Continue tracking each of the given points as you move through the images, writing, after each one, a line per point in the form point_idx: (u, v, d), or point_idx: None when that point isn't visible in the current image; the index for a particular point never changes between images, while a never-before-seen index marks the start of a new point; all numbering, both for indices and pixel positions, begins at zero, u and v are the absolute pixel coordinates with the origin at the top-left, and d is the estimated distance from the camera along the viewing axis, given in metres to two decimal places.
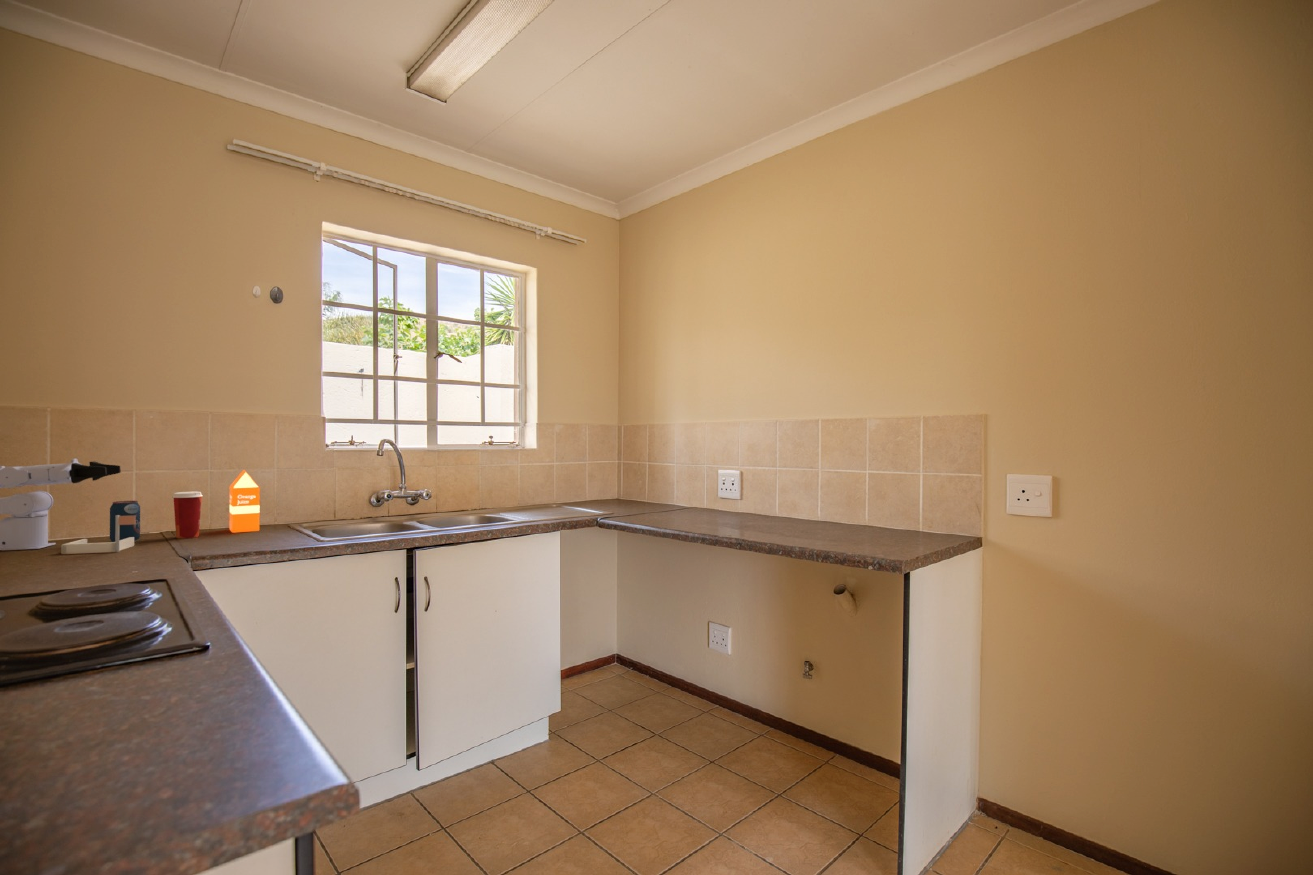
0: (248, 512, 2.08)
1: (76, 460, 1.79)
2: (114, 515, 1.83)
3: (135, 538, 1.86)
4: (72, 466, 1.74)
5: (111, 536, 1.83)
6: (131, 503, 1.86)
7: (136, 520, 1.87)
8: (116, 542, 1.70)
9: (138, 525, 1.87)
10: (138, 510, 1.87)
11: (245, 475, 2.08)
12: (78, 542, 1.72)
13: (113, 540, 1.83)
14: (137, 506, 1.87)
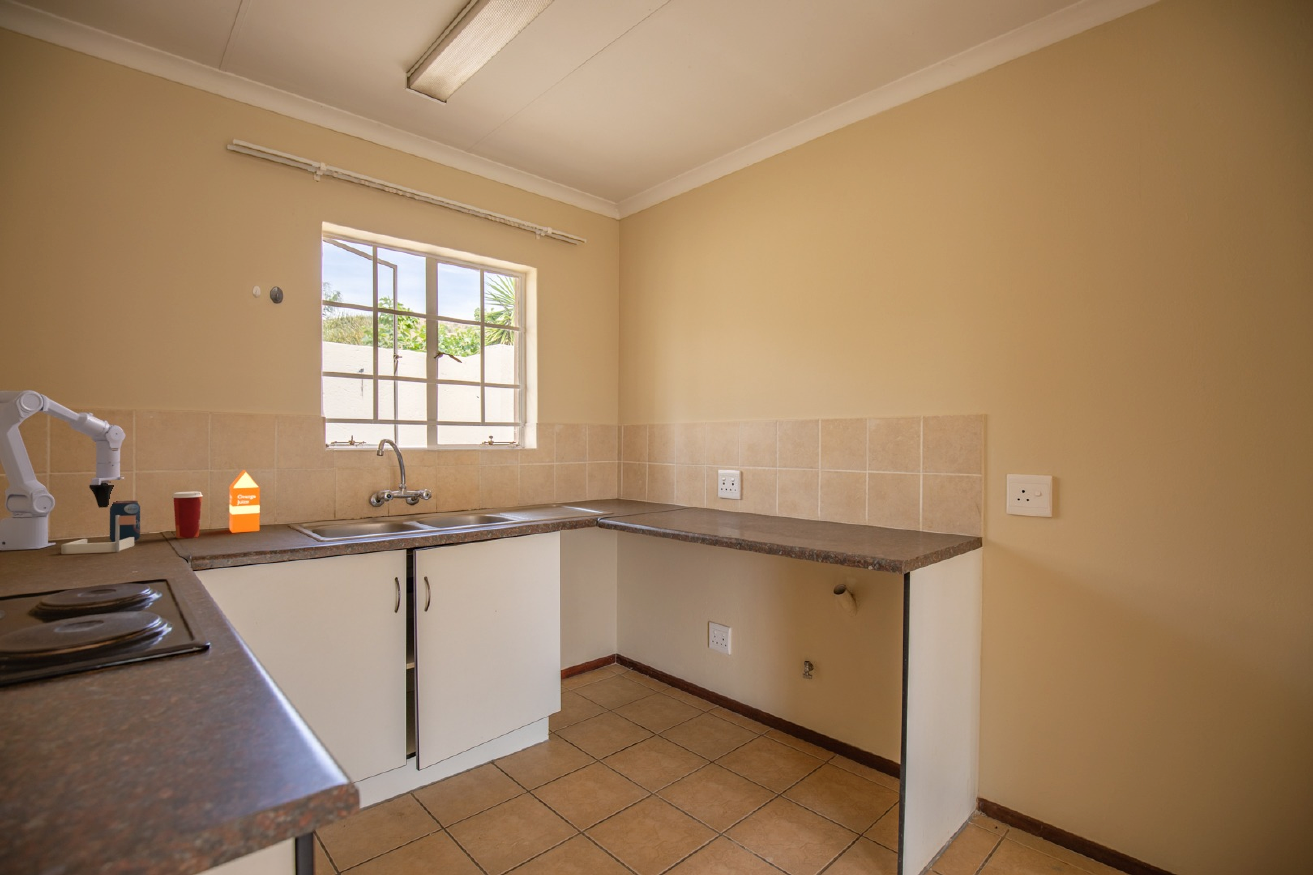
0: (248, 512, 2.08)
1: (121, 478, 1.97)
2: (114, 515, 1.83)
3: (135, 538, 1.86)
4: (106, 486, 1.92)
5: (111, 536, 1.83)
6: (131, 503, 1.86)
7: (136, 520, 1.87)
8: (116, 542, 1.70)
9: (138, 525, 1.87)
10: (138, 510, 1.87)
11: (245, 475, 2.08)
12: (78, 542, 1.72)
13: (113, 540, 1.83)
14: (137, 506, 1.87)
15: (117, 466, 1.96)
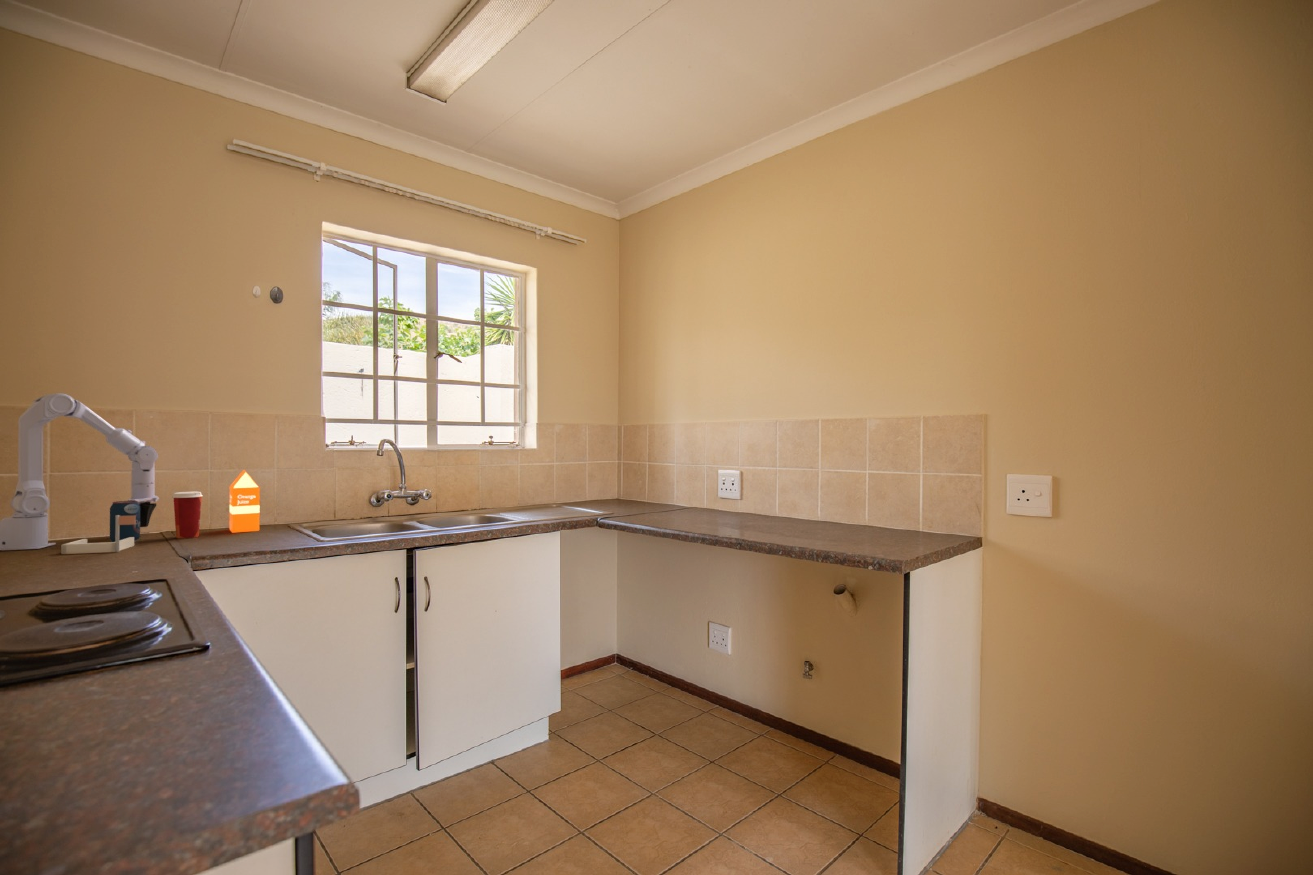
0: (248, 512, 2.08)
1: None
2: (114, 515, 1.83)
3: (135, 538, 1.86)
4: (146, 506, 1.95)
5: (111, 536, 1.83)
6: (131, 503, 1.86)
7: (136, 520, 1.87)
8: (116, 542, 1.70)
9: (138, 525, 1.87)
10: (138, 510, 1.87)
11: (245, 475, 2.08)
12: (78, 542, 1.72)
13: (113, 540, 1.83)
14: (137, 506, 1.87)
15: (152, 487, 1.97)
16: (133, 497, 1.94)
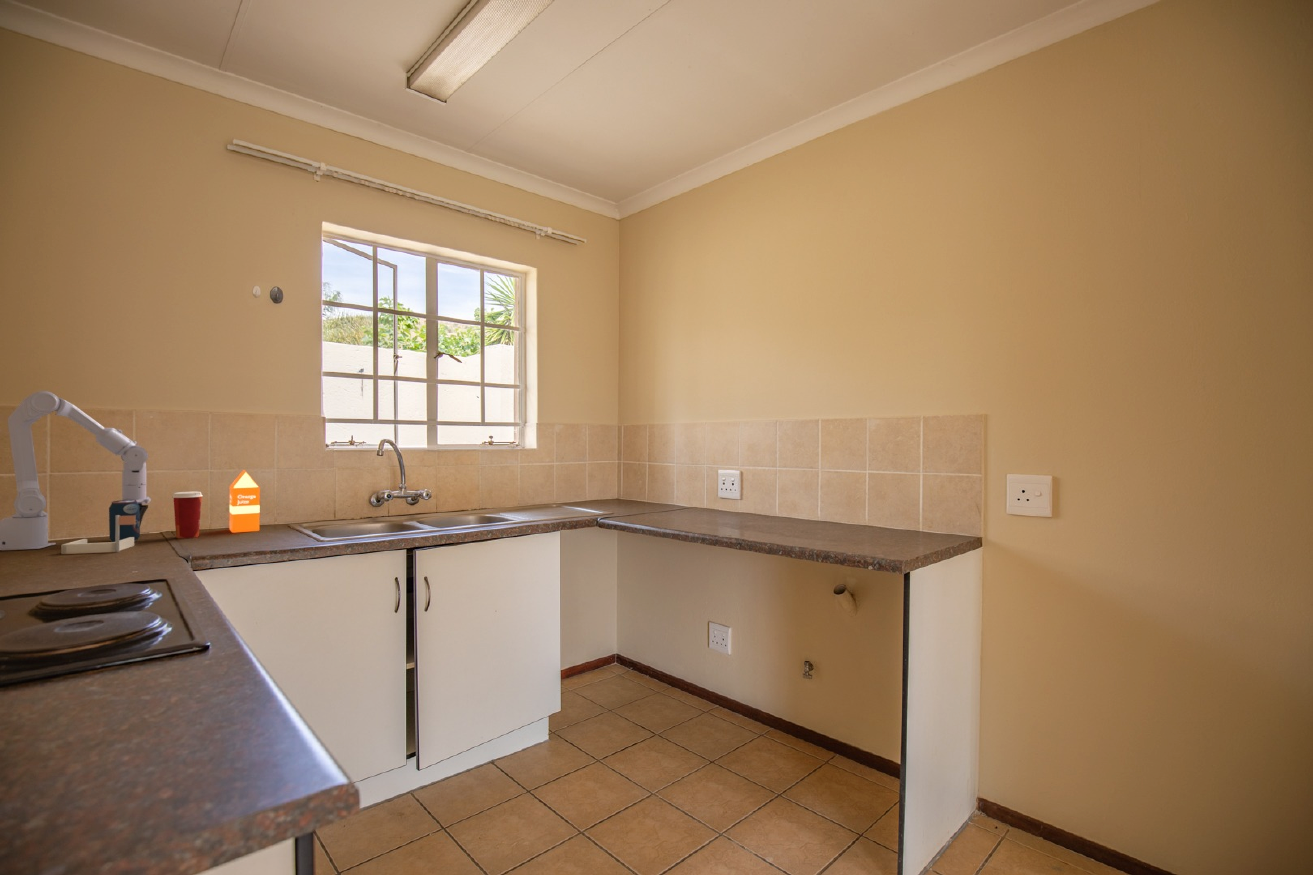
0: (248, 512, 2.08)
1: (148, 500, 1.93)
2: (113, 515, 1.83)
3: (135, 538, 1.86)
4: None
5: (111, 536, 1.83)
6: (130, 503, 1.85)
7: (135, 520, 1.86)
8: (116, 542, 1.70)
9: (138, 525, 1.87)
10: (137, 510, 1.87)
11: (245, 475, 2.08)
12: (78, 542, 1.72)
13: (113, 540, 1.83)
14: (136, 506, 1.87)
15: (144, 488, 1.92)
16: (124, 499, 1.89)
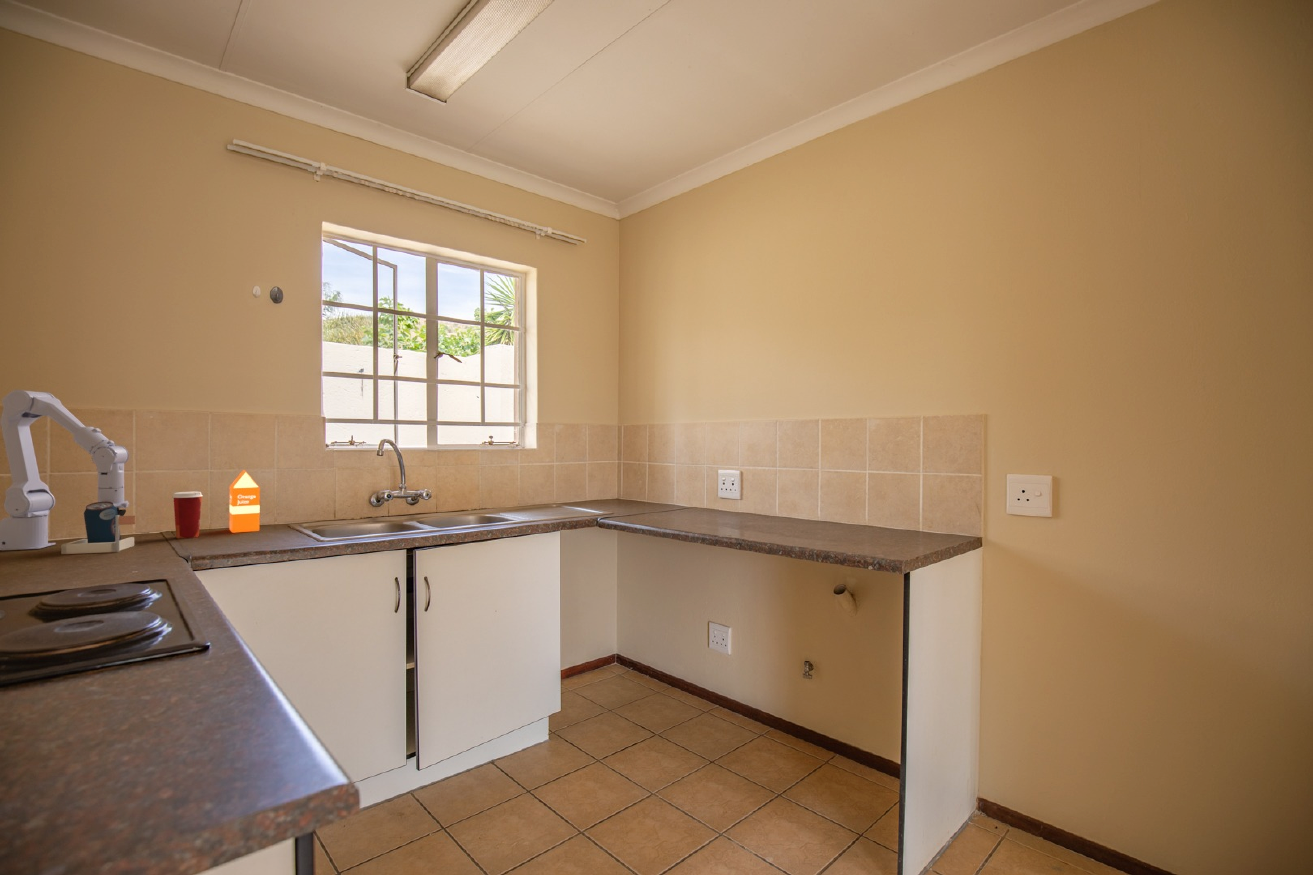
0: (248, 512, 2.08)
1: (126, 504, 1.80)
2: (89, 522, 1.71)
3: None
4: None
5: (89, 542, 1.72)
6: (106, 508, 1.72)
7: (114, 525, 1.74)
8: (116, 542, 1.70)
9: None
10: (115, 514, 1.74)
11: (245, 475, 2.08)
12: (78, 542, 1.72)
13: None
14: (113, 510, 1.74)
15: (121, 491, 1.79)
16: None
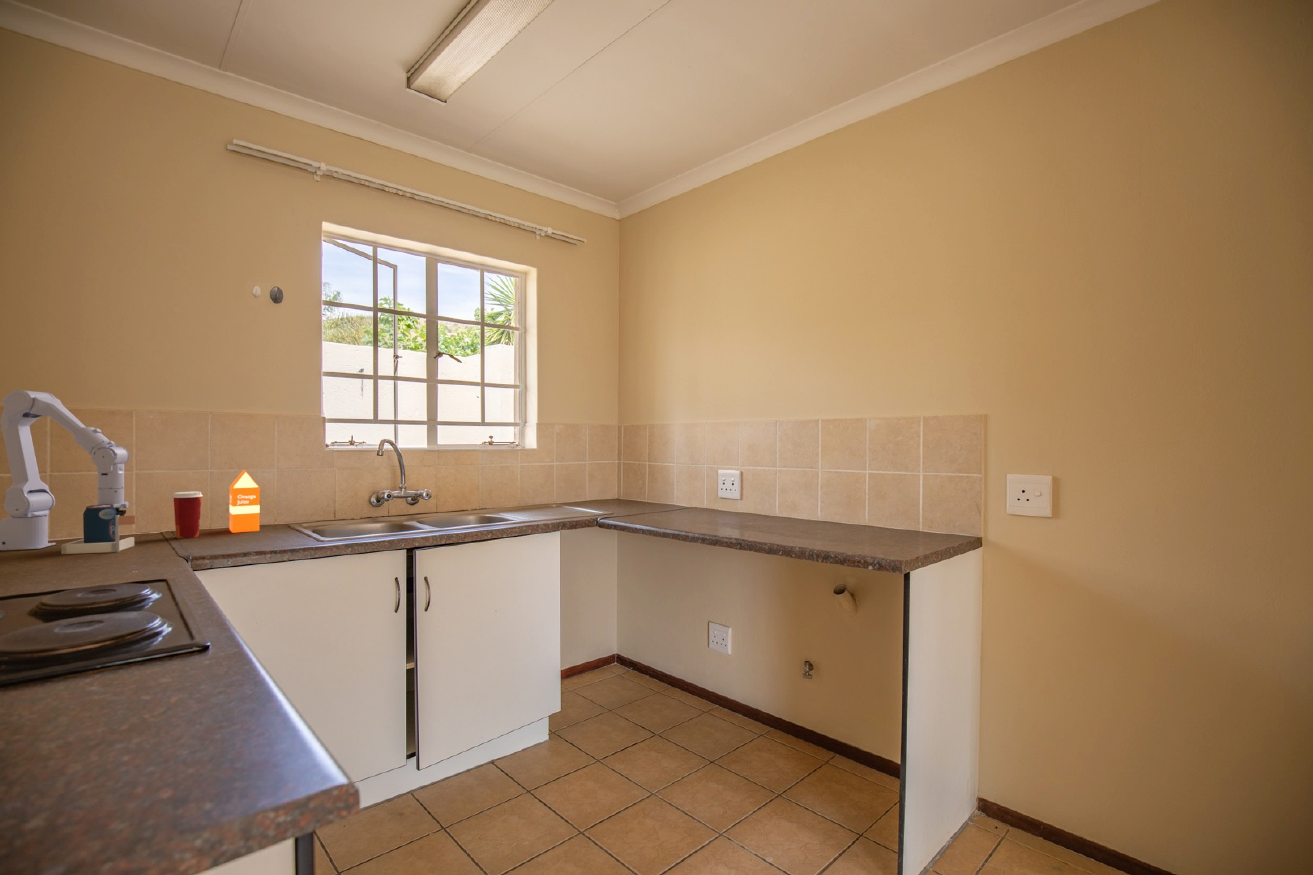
0: (248, 512, 2.08)
1: (126, 505, 1.80)
2: (87, 521, 1.70)
3: None
4: None
5: None
6: (106, 508, 1.72)
7: (112, 526, 1.73)
8: (116, 542, 1.70)
9: None
10: (114, 515, 1.74)
11: (245, 475, 2.08)
12: (78, 542, 1.72)
13: None
14: (113, 511, 1.74)
15: (121, 492, 1.79)
16: (99, 503, 1.76)
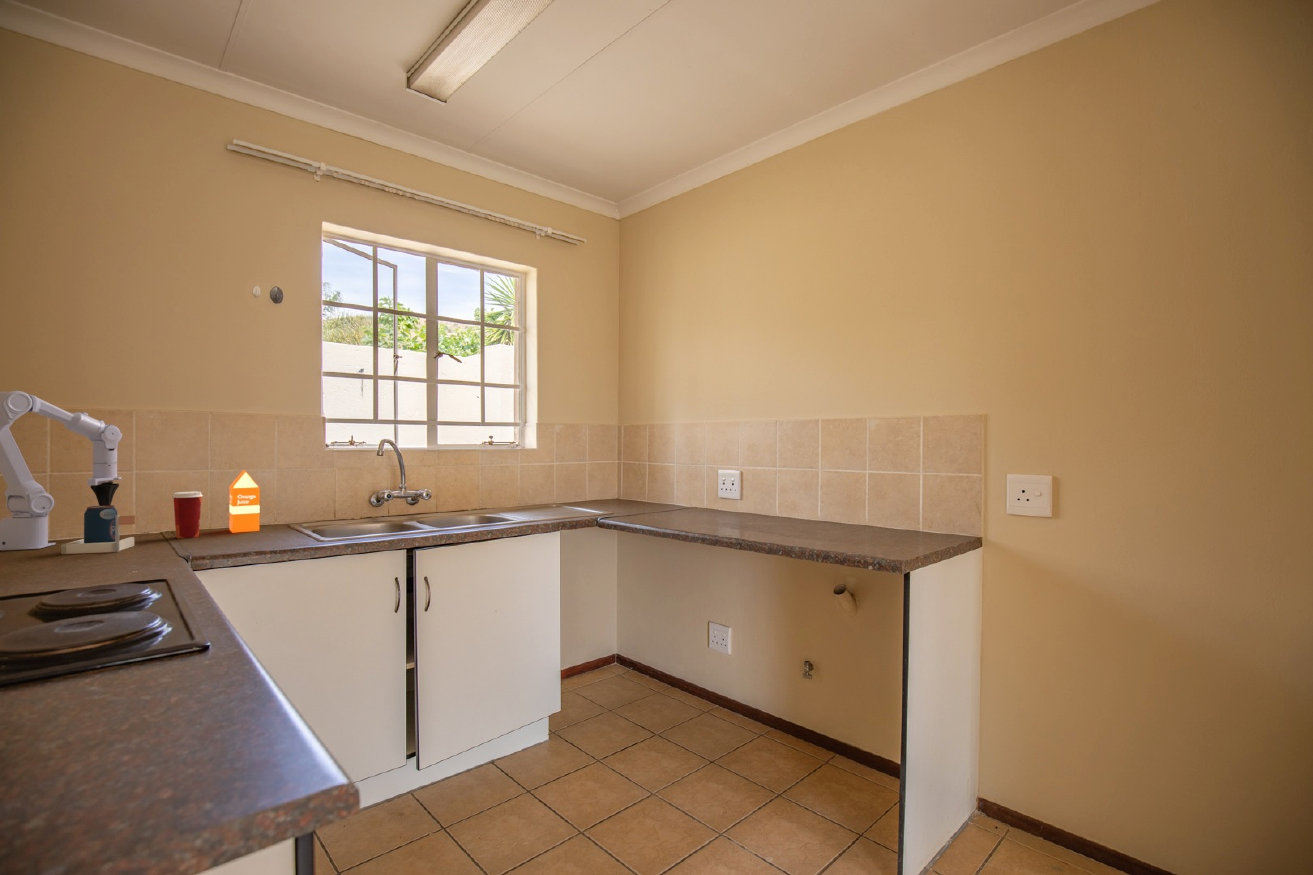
0: (248, 512, 2.08)
1: None
2: (88, 521, 1.70)
3: None
4: (107, 486, 1.92)
5: None
6: (107, 508, 1.73)
7: (113, 526, 1.74)
8: (116, 542, 1.70)
9: None
10: (115, 515, 1.75)
11: (245, 475, 2.08)
12: (78, 542, 1.72)
13: None
14: (114, 511, 1.74)
15: (114, 466, 1.94)
16: (94, 477, 1.91)
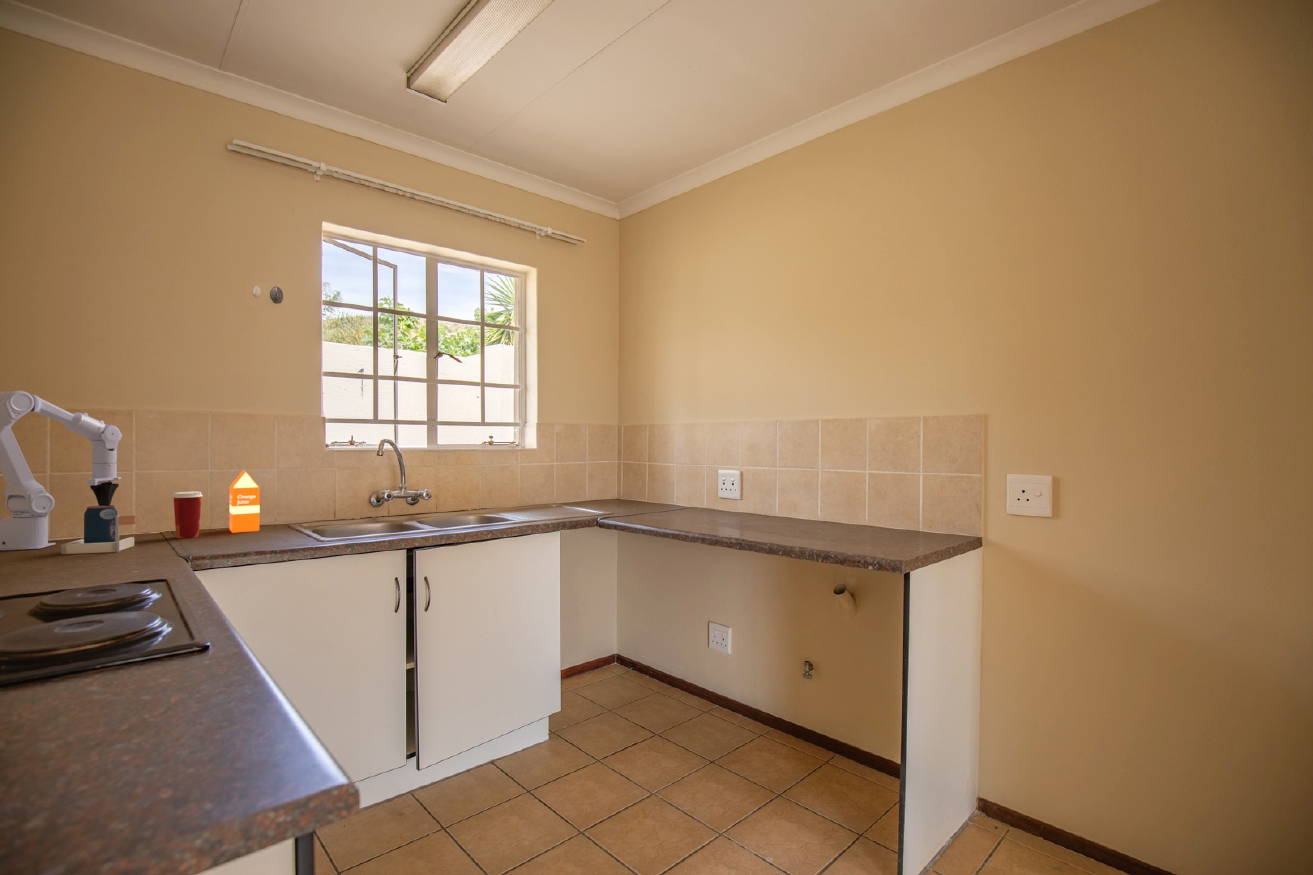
0: (248, 512, 2.08)
1: (118, 479, 1.96)
2: (88, 521, 1.70)
3: None
4: (107, 486, 1.92)
5: None
6: (107, 508, 1.73)
7: (113, 526, 1.74)
8: (116, 542, 1.70)
9: None
10: (115, 515, 1.75)
11: (245, 475, 2.08)
12: (78, 542, 1.72)
13: None
14: (114, 511, 1.74)
15: (114, 466, 1.94)
16: (94, 477, 1.91)
